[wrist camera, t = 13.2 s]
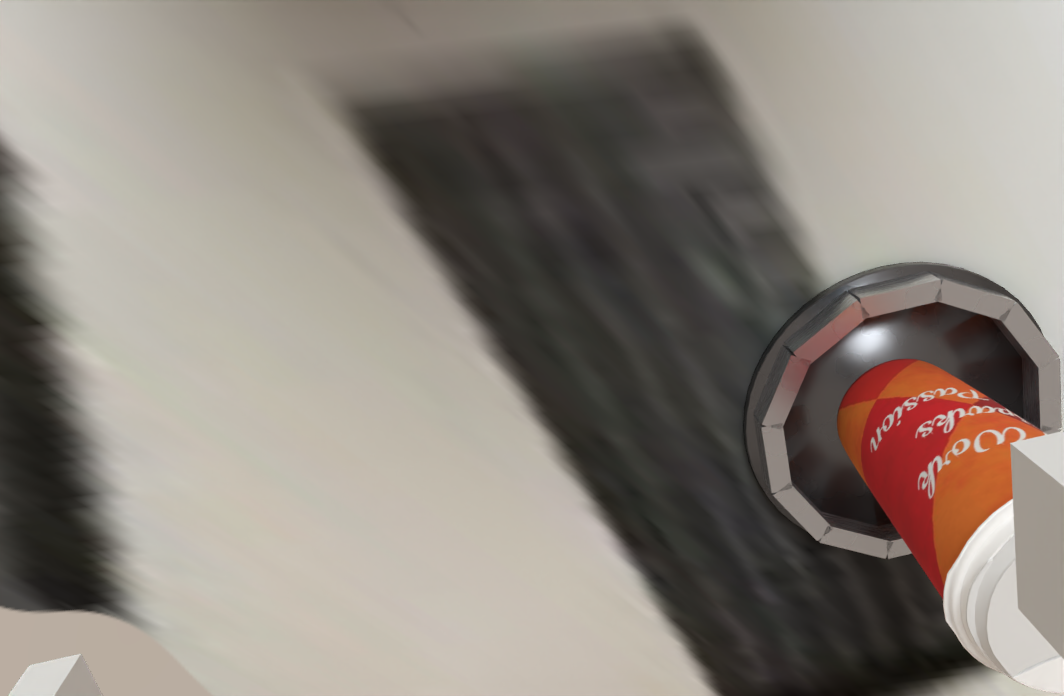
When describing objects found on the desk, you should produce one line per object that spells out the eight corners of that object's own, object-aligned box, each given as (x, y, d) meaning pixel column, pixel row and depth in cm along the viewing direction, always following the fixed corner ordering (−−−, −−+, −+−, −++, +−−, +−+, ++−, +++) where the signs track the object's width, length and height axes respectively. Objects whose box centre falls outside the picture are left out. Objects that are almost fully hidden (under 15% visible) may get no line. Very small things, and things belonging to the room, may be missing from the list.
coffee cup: (990, 329, 42) (1245, 486, 28) (970, 483, 44) (1191, 697, 30) (814, 341, 41) (979, 506, 27) (805, 495, 44) (951, 716, 30)
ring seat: (721, 304, 41) (732, 317, 39) (1041, 228, 41) (1068, 238, 39) (765, 568, 46) (777, 591, 45) (1049, 505, 46) (1073, 526, 44)
